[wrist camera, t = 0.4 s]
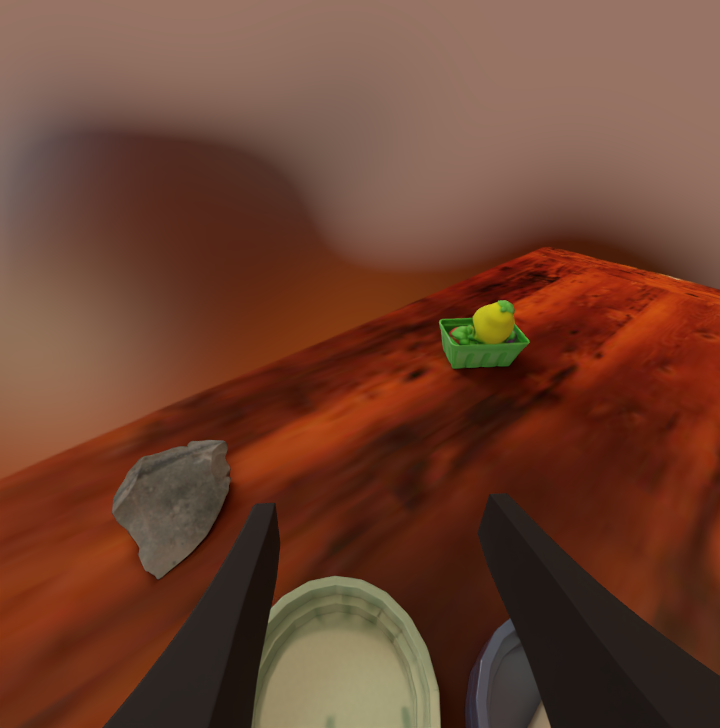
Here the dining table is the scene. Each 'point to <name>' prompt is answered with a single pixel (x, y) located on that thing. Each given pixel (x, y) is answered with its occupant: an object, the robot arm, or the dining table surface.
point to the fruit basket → (483, 337)
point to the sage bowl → (344, 662)
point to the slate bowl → (501, 684)
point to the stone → (173, 501)
